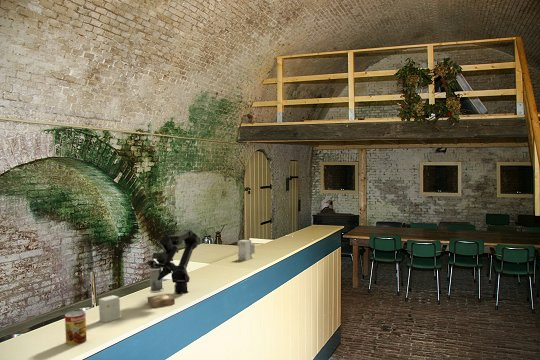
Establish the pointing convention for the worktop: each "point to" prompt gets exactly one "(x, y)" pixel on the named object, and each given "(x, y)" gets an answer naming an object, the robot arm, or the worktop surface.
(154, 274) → the cylinder
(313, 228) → the worktop surface
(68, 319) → the canned food
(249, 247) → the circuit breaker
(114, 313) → the small box
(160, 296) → the stand
